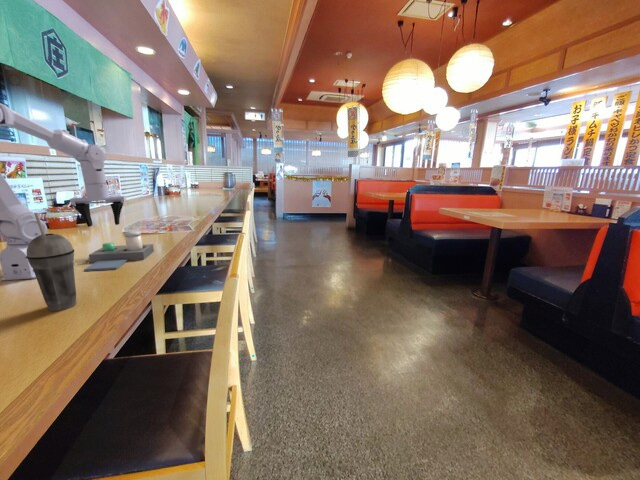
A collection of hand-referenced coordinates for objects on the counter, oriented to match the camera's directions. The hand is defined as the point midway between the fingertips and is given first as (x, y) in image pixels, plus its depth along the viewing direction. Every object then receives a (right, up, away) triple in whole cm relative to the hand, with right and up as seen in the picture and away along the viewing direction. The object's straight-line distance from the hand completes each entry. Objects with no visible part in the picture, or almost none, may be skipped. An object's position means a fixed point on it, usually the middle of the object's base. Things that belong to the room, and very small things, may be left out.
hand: (104, 225), depth 98 cm
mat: (+9, -13, -10) cm, 18 cm away
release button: (+4, -9, -2) cm, 10 cm away
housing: (+7, -10, -1) cm, 13 cm away
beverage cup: (+18, -19, -36) cm, 44 cm away
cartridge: (+11, -10, 0) cm, 15 cm away
